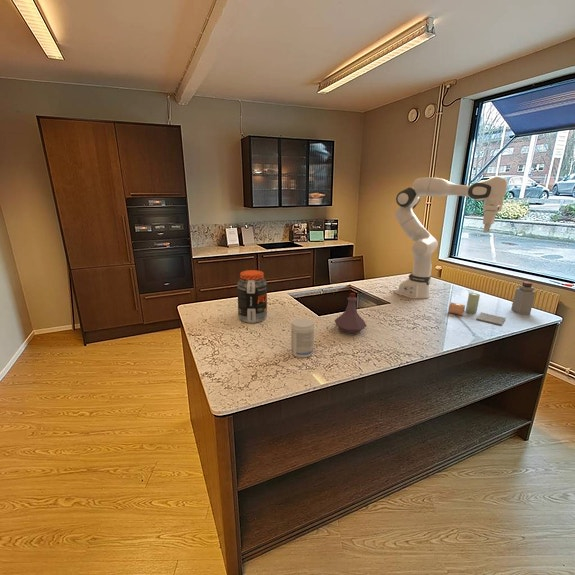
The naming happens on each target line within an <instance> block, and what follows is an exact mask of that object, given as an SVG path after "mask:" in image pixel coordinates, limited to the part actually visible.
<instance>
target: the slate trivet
mask: <svg viewBox="0 0 575 575" xmlns="http://www.w3.org/2000/svg"><path fill="white" fill-rule="evenodd" d="M475 320H476V321H481V322H484V323H488V324H493V325H496V326H499V327H501V326H503V324H504V322H505V320H506V317H503V316H500V315H495V314H491V313H490V314H489V313H486V312H480V313H479V314H478V315H477V317H476V319H475Z"/></svg>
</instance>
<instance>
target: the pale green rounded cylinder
mask: <svg viewBox="0 0 575 575" xmlns="http://www.w3.org/2000/svg"><path fill="white" fill-rule="evenodd" d="M480 297H481V295H480V293H476V292H468V297H467V302H466V306H465V307H466V308H465V312H466V313H467V314H471V313H472V314H471V315H473V314H475V313H476V314H477V312H478V307H479V301H480Z"/></svg>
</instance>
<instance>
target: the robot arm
mask: <svg viewBox="0 0 575 575" xmlns="http://www.w3.org/2000/svg"><path fill="white" fill-rule="evenodd" d="M508 184H509V183H508V180H507V179H506V178H504V177H502V176H496V175H495V176H492V177H490V178H489V179H486V180H483V181H478V182H474V183H472V184H471V185H466V184H464V185H463V184H456V183H453V182H451V181H448V180H447V179H444V178H439V177H430V176H427V177H418V178H416V179H415V180H414V181H413V183H412V187H407V188H405V189H403V190H401V191H399V192H398V193H397V195H396V198H395V202H396V204H397V205H398V206H399V207H398V208H397V209H396V210H395V212H394V216H395V219H396V221H397V222H398V224H399V226H400V228H401V229H402V230H403V232H404V233H405V235H406V236H407V237H408V238H409V239H411V240H412V241H413V242H414V243H413V244H412V247H411V250H412V254H413V267H412V272H411V273H410V274H409V275H408V279H406V280H404V281H402V282H401V283H400V284H399V285H398V288H396V289H395V290H394V293H395V294H397V295H400V296H403V297H407V298H410V299H413V300H415V299H416V300H417V299H423V300H424V299H428V298H430V295H431V294H430V285H431V281H432V279H431V273H432V266H433V264H432V253H434V252H435V251H436V250H437V248H438V246H439V242H438V240H437V239H436V238H435V237H434V235H432V234H431V233H430V232H429V231H428V230H427V229H426V228H425V226H423V224H422V223H421V221H420V220H419V218H418V217H417V216H416V214H415V213H414V210H413V209H415V208H416V207H417V206H418V204H419V202H420V201H421V197H422V196H423V197H424V196H425V197H434V198H435V197H447V196H459V197H467V198H470V199H472V200H474V201H478V202H484V203H483V207H482V211H484V212H483V219H482V224H483V225H484V226H483V233H486V234H487V233H489V232H490V229H491V226H492V225H494V221H495V218H496V215H498V213H499V212H502V209H503V204H504V198H505V196H506V194H507V190H508Z"/></svg>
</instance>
